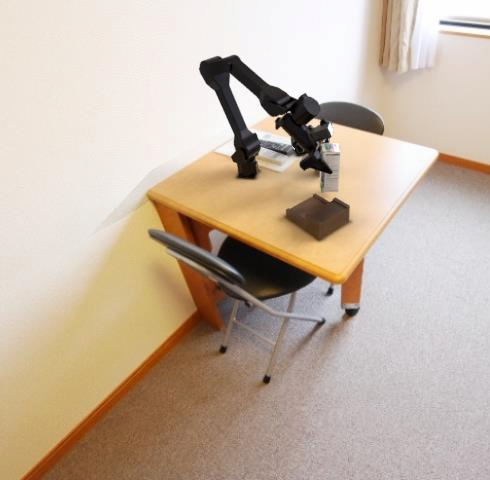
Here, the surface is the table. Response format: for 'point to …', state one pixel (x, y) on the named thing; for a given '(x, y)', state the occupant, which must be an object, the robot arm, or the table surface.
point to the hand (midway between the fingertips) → (333, 167)
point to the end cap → (297, 149)
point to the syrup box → (333, 161)
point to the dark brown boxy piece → (319, 215)
